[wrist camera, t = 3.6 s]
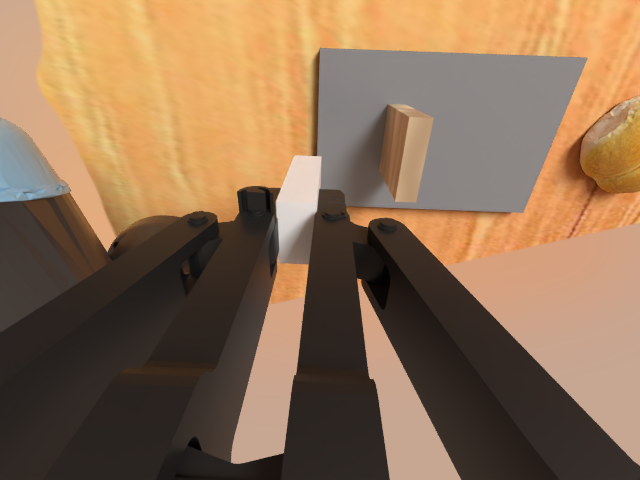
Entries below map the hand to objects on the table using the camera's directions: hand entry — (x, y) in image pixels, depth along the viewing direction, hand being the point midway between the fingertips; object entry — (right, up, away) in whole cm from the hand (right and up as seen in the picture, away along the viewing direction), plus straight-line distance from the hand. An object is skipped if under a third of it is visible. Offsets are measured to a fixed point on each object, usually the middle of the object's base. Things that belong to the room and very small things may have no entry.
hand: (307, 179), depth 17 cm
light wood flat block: (+7, +6, +11) cm, 15 cm away
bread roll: (+30, +6, +12) cm, 33 cm away
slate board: (+12, +6, +12) cm, 18 cm away
